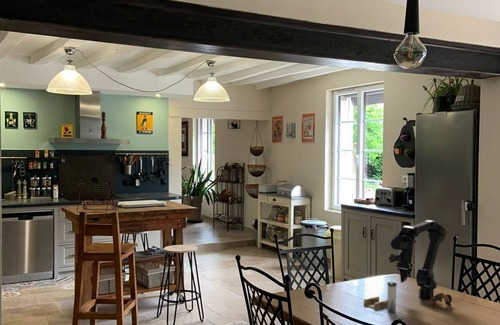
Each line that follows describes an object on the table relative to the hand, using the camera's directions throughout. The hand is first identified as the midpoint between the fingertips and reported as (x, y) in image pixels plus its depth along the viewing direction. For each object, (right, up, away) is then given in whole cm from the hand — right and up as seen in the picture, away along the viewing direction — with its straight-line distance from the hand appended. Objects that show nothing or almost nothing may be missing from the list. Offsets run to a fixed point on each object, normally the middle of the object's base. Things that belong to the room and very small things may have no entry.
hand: (403, 281), depth 252 cm
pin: (-9, -12, -11) cm, 19 cm away
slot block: (-14, -12, -2) cm, 18 cm away
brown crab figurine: (+19, -13, -2) cm, 23 cm away
